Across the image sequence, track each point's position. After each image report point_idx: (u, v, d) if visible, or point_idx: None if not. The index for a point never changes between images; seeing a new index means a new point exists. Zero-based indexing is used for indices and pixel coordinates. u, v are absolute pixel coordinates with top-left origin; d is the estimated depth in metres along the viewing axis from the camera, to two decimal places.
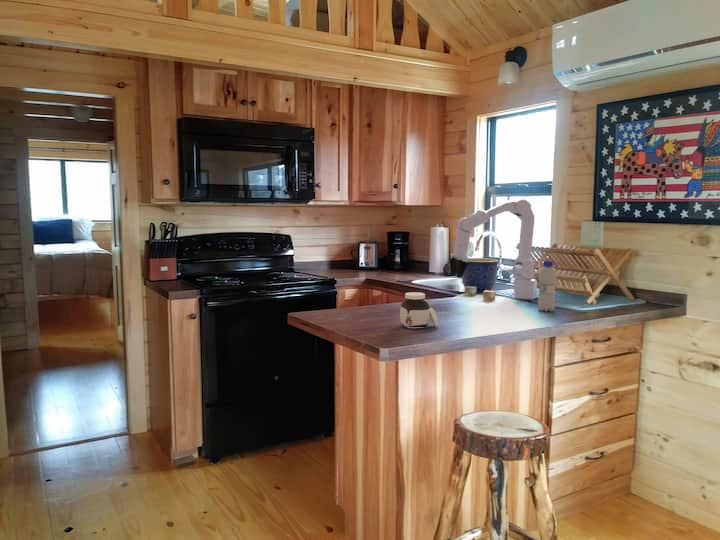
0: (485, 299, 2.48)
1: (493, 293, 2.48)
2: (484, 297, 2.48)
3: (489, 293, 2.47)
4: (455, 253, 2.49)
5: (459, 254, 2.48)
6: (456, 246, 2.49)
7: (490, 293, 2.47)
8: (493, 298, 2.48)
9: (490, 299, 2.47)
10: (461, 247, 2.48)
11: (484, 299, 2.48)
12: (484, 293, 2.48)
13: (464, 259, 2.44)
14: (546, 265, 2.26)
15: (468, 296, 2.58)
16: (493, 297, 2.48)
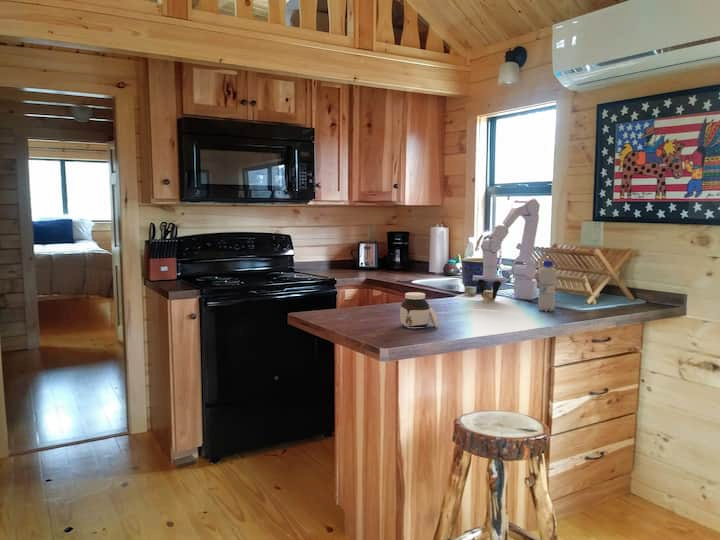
0: (485, 299, 2.48)
1: None
2: (484, 297, 2.48)
3: (489, 293, 2.47)
4: (490, 276, 2.45)
5: (494, 276, 2.46)
6: (490, 269, 2.45)
7: (490, 293, 2.47)
8: None
9: (490, 299, 2.47)
10: (495, 269, 2.46)
11: (484, 299, 2.48)
12: (484, 293, 2.48)
13: (506, 280, 2.44)
14: (546, 265, 2.26)
15: (468, 296, 2.58)
16: None
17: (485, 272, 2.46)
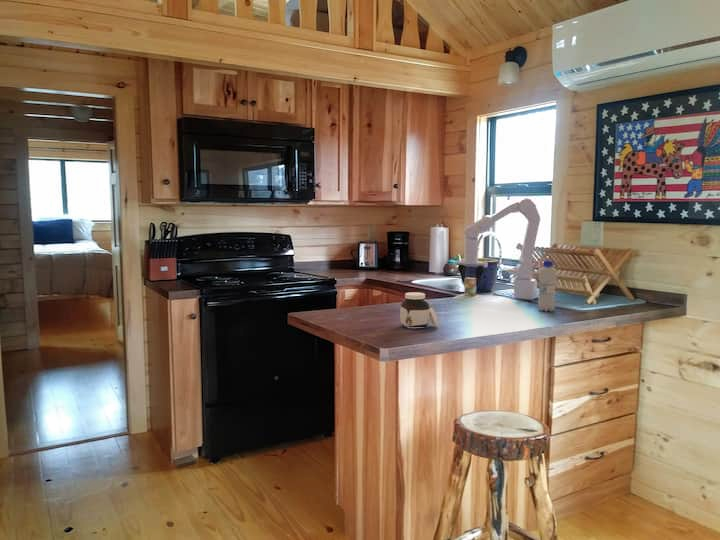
0: (466, 286, 2.59)
1: (474, 280, 2.59)
2: (465, 284, 2.59)
3: (470, 280, 2.58)
4: (471, 261, 2.56)
5: (475, 261, 2.57)
6: (471, 254, 2.56)
7: (471, 280, 2.58)
8: (474, 285, 2.59)
9: (471, 286, 2.58)
10: (476, 255, 2.57)
11: (465, 286, 2.59)
12: (465, 280, 2.59)
13: (486, 265, 2.55)
14: (546, 265, 2.26)
15: (468, 296, 2.58)
16: (474, 284, 2.59)
17: (467, 257, 2.57)
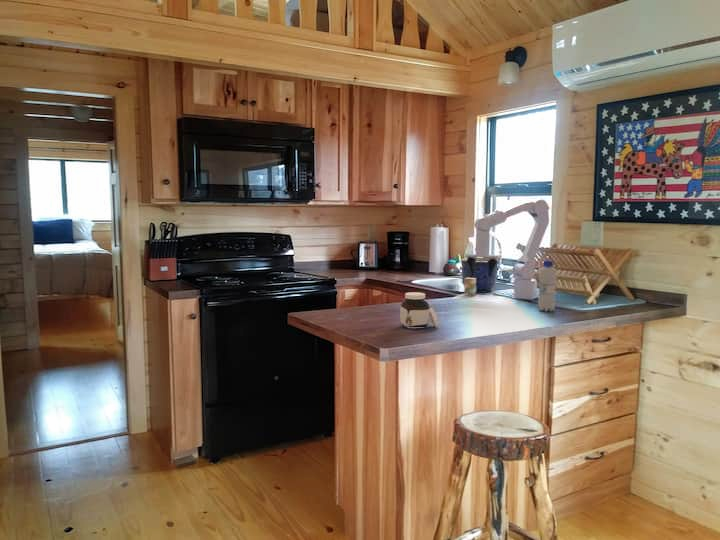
0: (466, 286, 2.59)
1: (474, 280, 2.59)
2: (465, 284, 2.59)
3: (470, 280, 2.58)
4: (482, 254, 2.50)
5: (487, 254, 2.51)
6: (482, 247, 2.50)
7: (471, 280, 2.58)
8: (474, 285, 2.59)
9: (471, 286, 2.58)
10: (487, 247, 2.51)
11: (465, 286, 2.59)
12: (465, 280, 2.59)
13: (498, 258, 2.49)
14: (546, 265, 2.26)
15: (468, 296, 2.58)
16: (474, 284, 2.59)
17: (477, 250, 2.51)
